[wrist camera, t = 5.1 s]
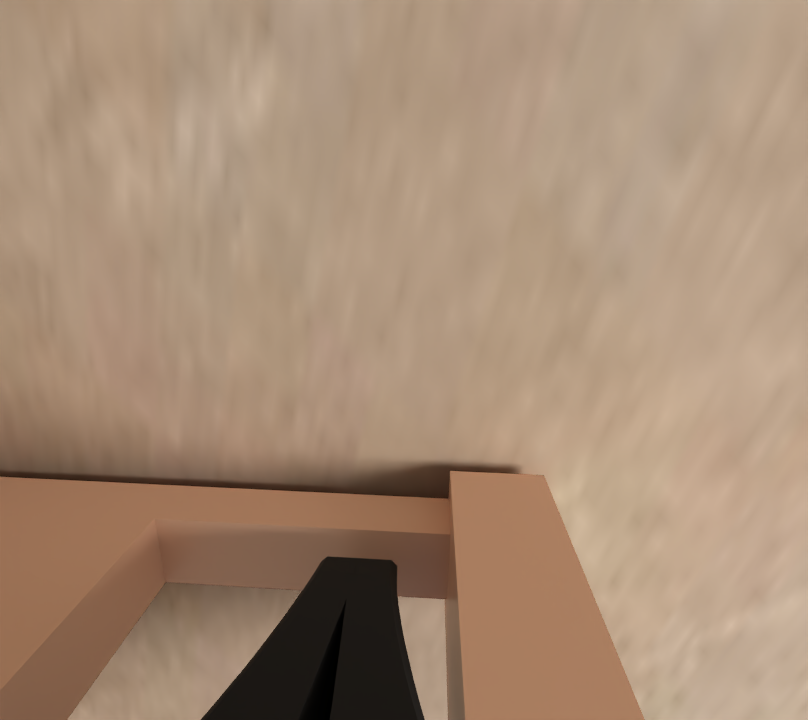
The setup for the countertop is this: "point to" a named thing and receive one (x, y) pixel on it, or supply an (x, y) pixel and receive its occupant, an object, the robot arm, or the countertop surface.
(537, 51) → the countertop surface
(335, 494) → the stepped wooden plank
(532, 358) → the countertop surface
